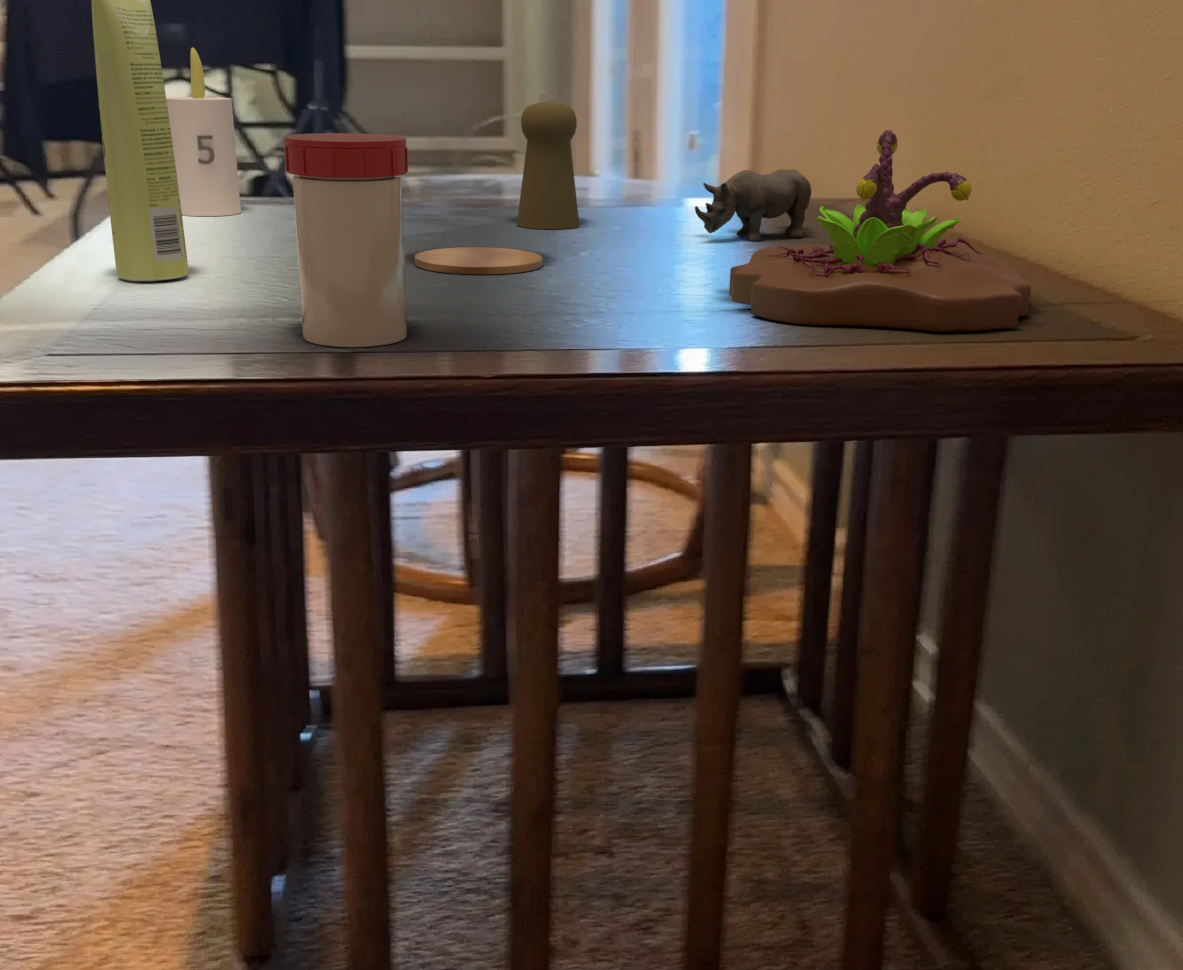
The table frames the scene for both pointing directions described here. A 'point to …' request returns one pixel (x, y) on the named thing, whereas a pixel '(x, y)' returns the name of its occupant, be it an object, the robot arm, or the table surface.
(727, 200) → the rhino figurine
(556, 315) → the table surface
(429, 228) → the table surface
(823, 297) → the plant
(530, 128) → the pepper shaker
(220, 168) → the candle
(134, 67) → the tube
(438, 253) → the coaster
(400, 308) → the jar
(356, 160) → the lid
